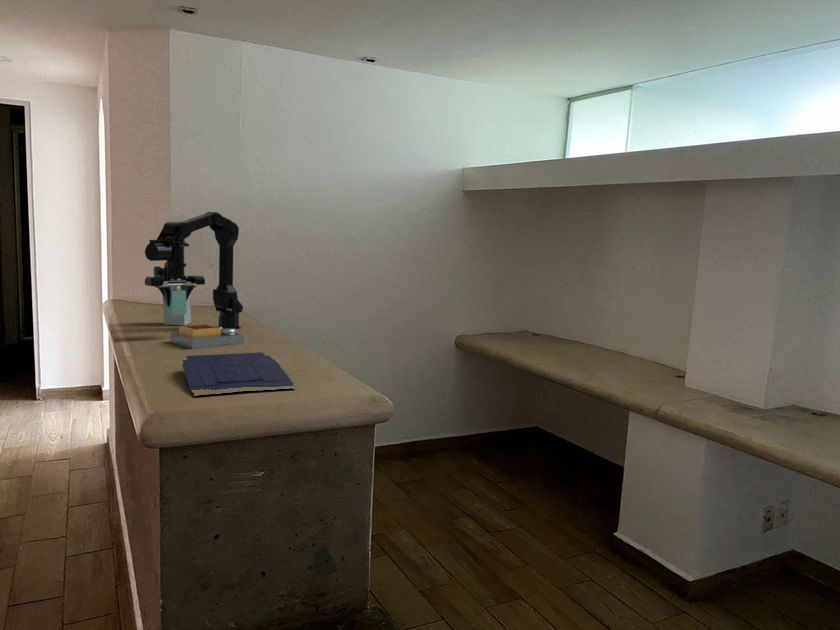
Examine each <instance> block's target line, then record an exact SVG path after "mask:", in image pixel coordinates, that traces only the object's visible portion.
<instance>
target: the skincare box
mask: <svg viewBox="0 0 840 630" xmlns="http://www.w3.org/2000/svg"><path fill="white" fill-rule="evenodd" d="M181 285H183V283H173V284H168V287H170V290H174V289H175V286H180V289H181V290H182V288H181ZM190 295H191V294H190ZM190 295H189V297H188V299H187V301H186V314H180V315H170V314H166V313H165V300H164V297H163V296H162V302H163V303H162V306H163V320H164V322H163V323H164V325H165V326H187V325H191V323H192V311H191V310H192V308H191V296H190Z"/></svg>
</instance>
